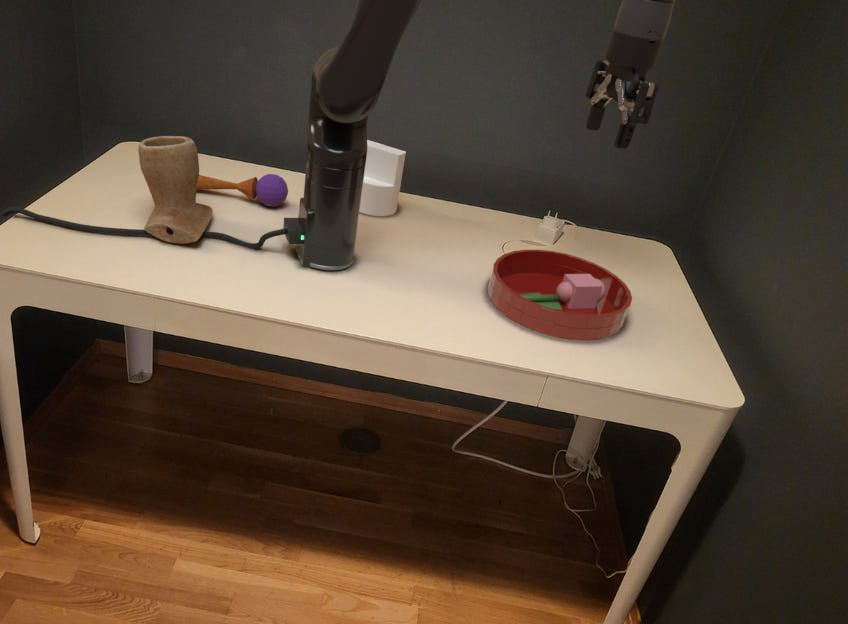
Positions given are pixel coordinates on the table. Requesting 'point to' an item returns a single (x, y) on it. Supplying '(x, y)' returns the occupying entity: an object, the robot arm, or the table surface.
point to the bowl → (544, 275)
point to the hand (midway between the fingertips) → (605, 138)
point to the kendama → (252, 188)
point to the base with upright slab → (381, 179)
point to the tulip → (572, 293)
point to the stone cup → (173, 188)
